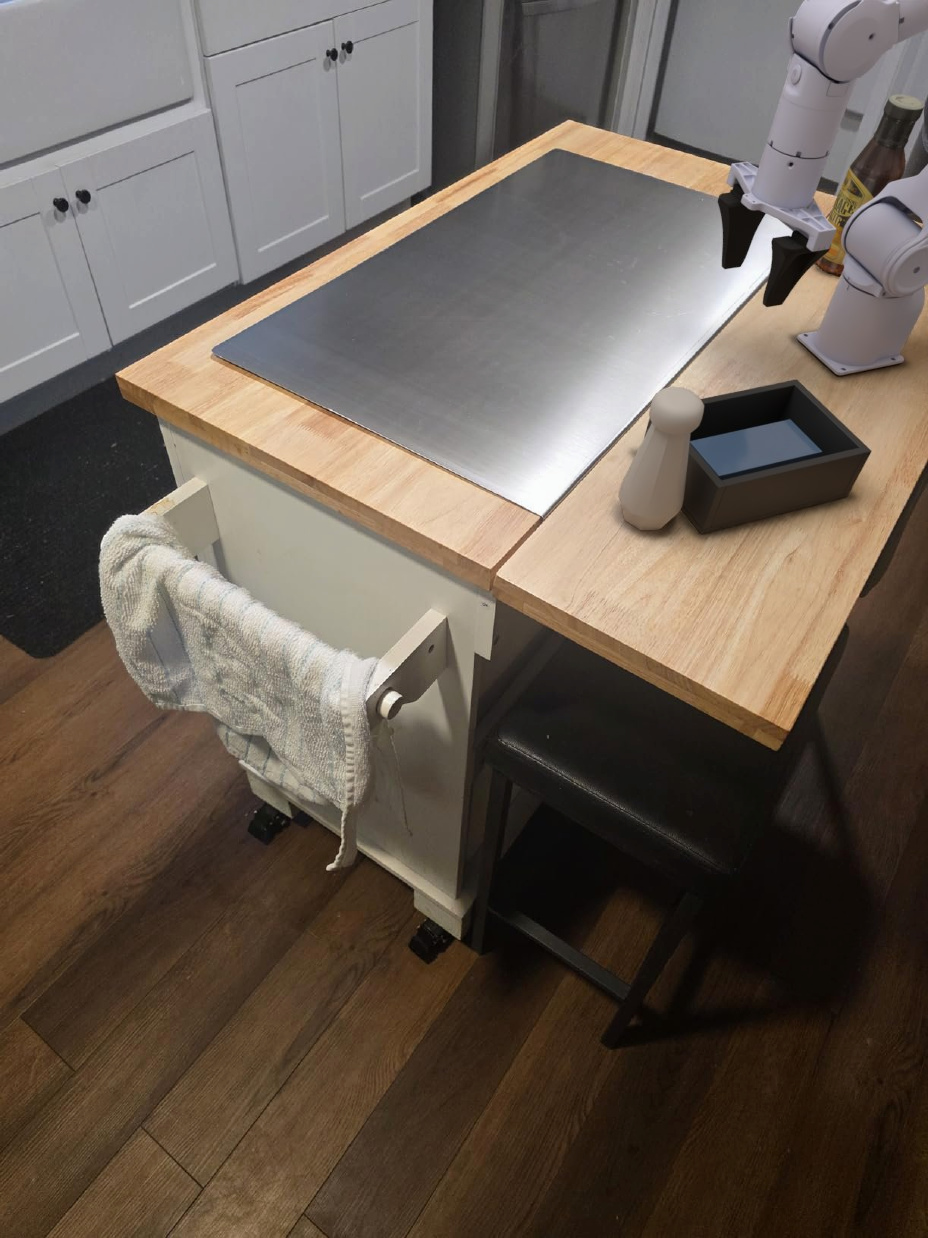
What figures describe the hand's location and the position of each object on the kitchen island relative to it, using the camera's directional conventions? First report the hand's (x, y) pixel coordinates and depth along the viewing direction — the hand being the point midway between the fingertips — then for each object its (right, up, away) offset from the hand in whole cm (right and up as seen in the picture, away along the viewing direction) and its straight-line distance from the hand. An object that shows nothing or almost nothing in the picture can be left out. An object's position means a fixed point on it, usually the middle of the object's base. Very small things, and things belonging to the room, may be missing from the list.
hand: (751, 284), depth 90 cm
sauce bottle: (+19, +11, +24) cm, 32 cm away
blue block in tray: (-2, -20, -6) cm, 21 cm away
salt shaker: (-13, -25, -10) cm, 30 cm away
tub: (-3, -21, -5) cm, 21 cm away
